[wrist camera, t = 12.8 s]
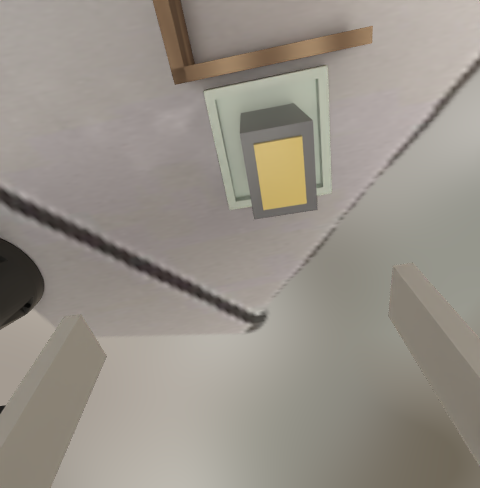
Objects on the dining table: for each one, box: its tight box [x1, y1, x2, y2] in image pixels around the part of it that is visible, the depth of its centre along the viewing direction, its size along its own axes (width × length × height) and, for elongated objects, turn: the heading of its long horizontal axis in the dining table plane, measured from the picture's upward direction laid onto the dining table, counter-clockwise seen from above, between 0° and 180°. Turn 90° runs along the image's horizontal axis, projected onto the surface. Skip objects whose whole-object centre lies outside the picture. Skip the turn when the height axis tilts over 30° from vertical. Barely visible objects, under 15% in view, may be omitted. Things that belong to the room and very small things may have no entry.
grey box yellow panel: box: [240, 103, 317, 219], centre depth 32 cm, size 6×8×11 cm
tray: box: [203, 65, 332, 210], centre depth 36 cm, size 13×14×2 cm
